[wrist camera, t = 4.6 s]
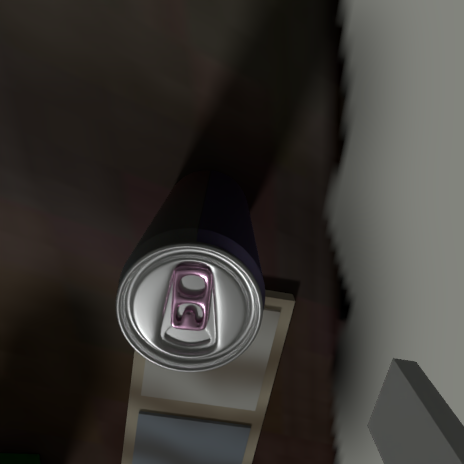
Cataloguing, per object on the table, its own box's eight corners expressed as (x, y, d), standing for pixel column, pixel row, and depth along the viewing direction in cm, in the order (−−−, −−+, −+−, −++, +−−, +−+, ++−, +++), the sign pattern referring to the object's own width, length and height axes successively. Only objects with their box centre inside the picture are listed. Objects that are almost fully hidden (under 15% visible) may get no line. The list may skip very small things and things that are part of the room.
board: (146, 270, 30) (142, 279, 29) (292, 294, 31) (295, 303, 29) (120, 485, 38) (116, 500, 36) (238, 499, 38) (238, 515, 37)
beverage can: (252, 173, 28) (279, 247, 13) (242, 248, 29) (257, 383, 15) (171, 164, 27) (110, 230, 13) (166, 240, 29) (108, 370, 15)
